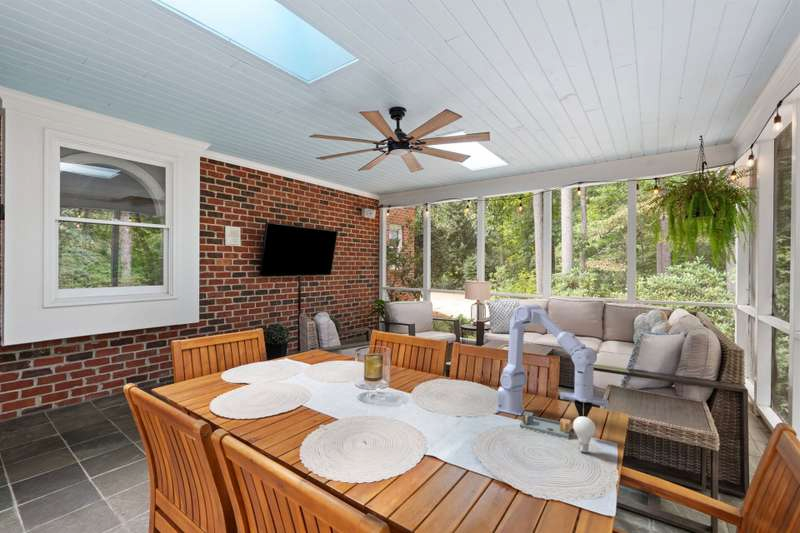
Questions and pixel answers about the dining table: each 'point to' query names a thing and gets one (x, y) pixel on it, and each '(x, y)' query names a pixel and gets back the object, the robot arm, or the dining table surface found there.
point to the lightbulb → (584, 431)
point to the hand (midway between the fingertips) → (583, 423)
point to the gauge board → (542, 425)
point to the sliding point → (565, 425)
